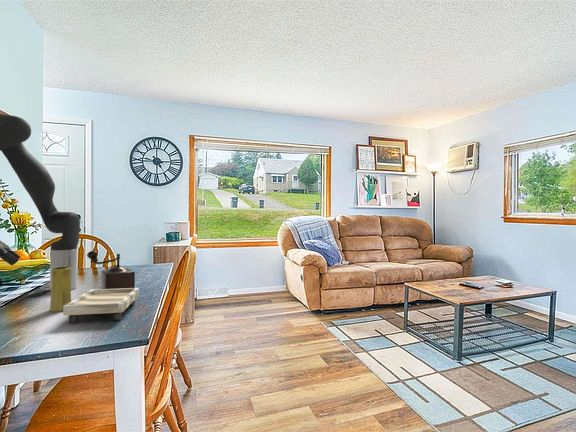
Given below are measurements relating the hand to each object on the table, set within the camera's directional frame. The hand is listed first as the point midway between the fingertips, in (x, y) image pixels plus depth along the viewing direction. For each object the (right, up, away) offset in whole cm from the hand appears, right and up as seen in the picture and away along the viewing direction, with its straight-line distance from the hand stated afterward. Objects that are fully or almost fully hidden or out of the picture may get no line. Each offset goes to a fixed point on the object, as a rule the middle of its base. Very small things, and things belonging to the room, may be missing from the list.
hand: (16, 261), depth 97 cm
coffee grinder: (+14, -18, +27) cm, 35 cm away
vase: (+9, -18, +7) cm, 21 cm away
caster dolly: (+26, -18, +4) cm, 32 cm away
